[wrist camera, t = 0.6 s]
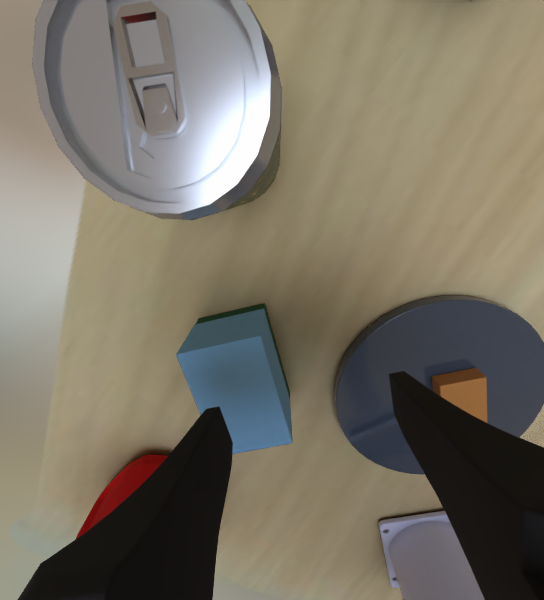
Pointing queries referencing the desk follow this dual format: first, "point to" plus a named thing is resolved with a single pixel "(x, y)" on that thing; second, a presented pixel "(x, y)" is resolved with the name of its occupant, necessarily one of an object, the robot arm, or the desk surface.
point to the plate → (437, 369)
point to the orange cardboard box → (464, 390)
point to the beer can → (162, 100)
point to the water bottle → (122, 488)
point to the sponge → (240, 376)
